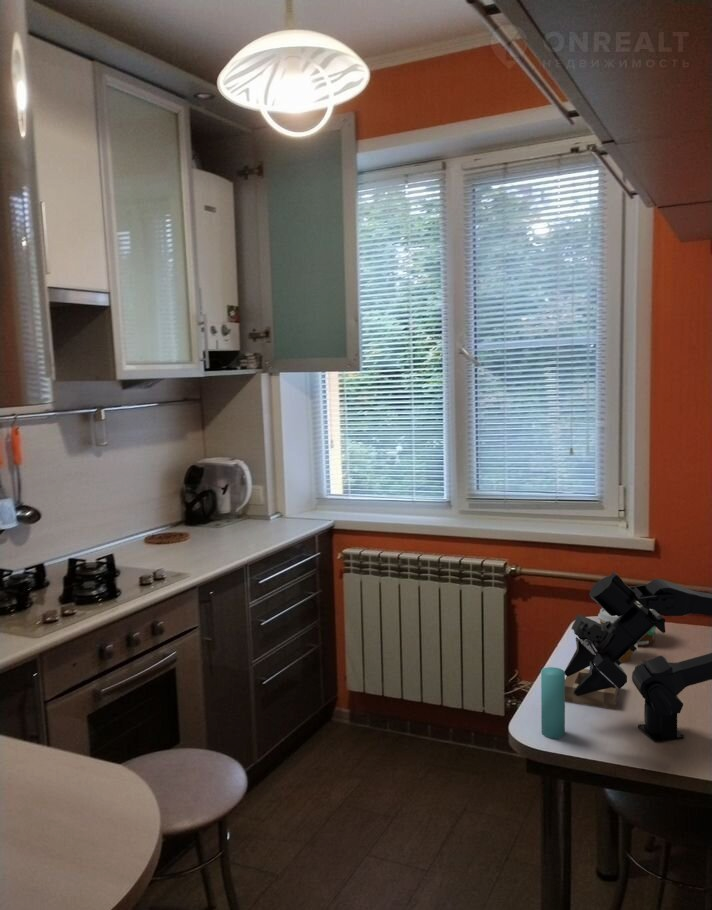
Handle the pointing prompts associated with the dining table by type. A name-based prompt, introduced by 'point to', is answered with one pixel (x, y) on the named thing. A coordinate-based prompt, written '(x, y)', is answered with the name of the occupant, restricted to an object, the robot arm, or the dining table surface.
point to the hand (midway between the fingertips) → (570, 684)
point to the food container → (650, 636)
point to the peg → (553, 702)
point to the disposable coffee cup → (606, 617)
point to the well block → (597, 698)
